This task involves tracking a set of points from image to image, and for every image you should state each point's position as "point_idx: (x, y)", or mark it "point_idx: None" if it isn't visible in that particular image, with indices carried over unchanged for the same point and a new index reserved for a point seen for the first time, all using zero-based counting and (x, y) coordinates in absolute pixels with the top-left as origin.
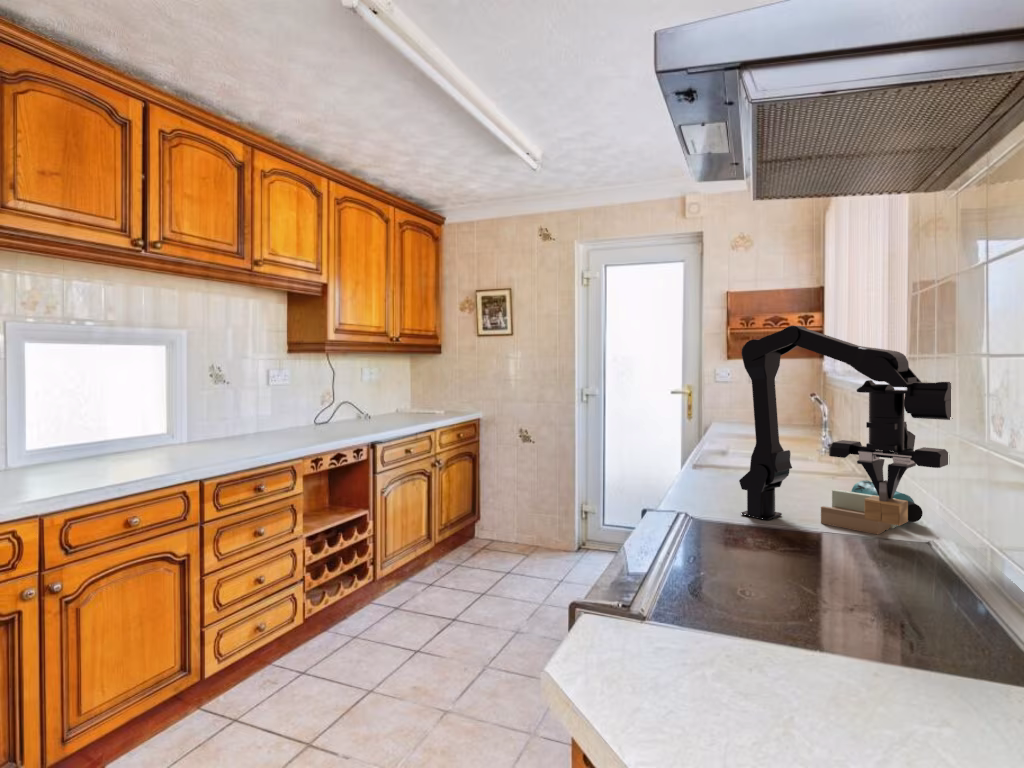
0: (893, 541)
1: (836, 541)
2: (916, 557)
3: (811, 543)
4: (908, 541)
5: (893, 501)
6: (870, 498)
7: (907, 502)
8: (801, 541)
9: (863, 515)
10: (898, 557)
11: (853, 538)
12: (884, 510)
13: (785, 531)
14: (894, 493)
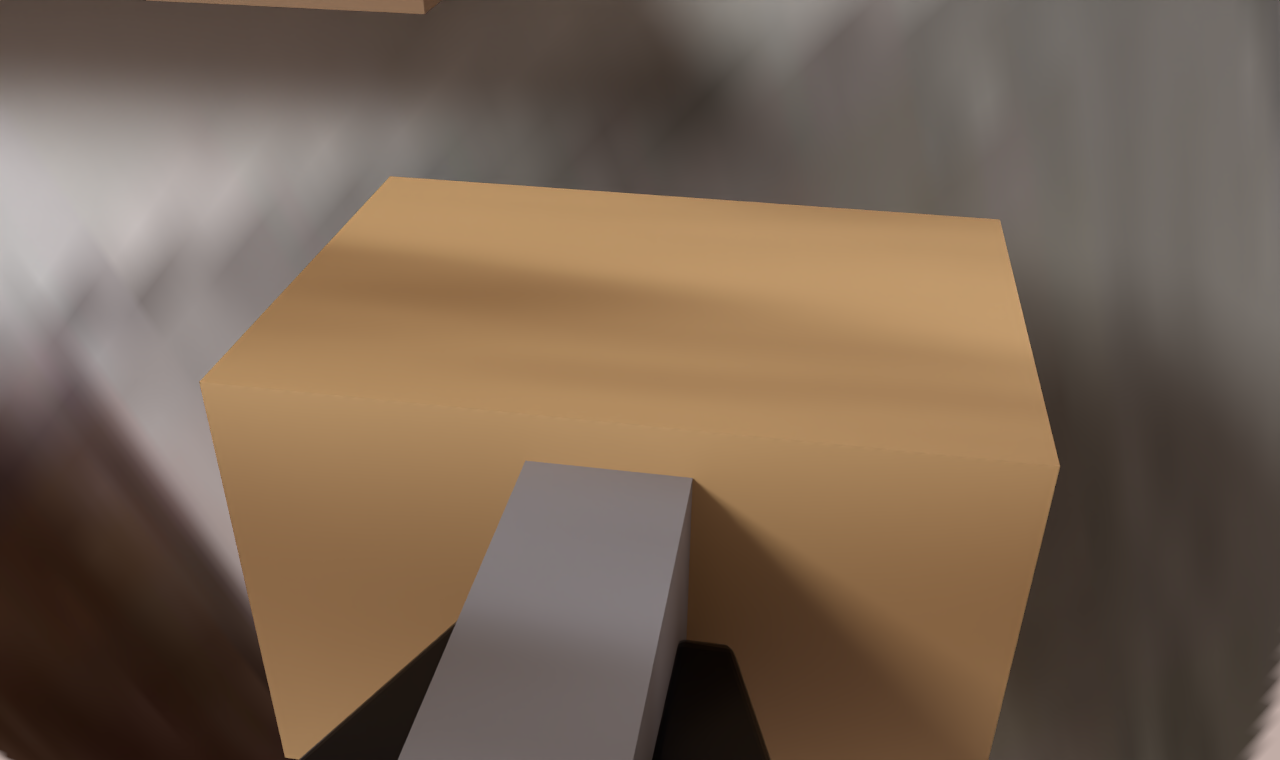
0: (795, 156)
1: None
2: (1147, 611)
3: (262, 726)
4: (964, 2)
5: (790, 706)
6: (337, 685)
7: (1048, 466)
8: (179, 720)
9: (184, 1)
10: None
11: None
12: None
13: None
14: (758, 736)
